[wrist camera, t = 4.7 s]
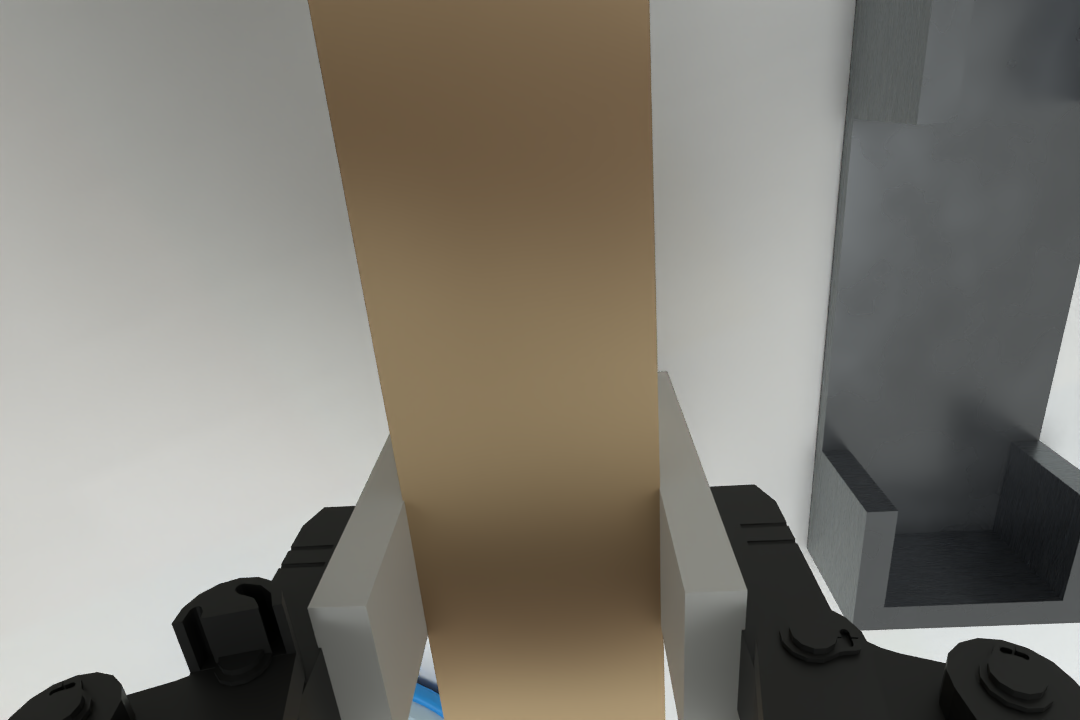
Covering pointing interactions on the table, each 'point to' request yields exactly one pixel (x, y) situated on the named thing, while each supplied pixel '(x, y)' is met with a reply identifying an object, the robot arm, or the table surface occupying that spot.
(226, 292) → the table surface
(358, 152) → the long wooden block
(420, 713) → the alarm clock
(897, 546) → the gray cradle tray
